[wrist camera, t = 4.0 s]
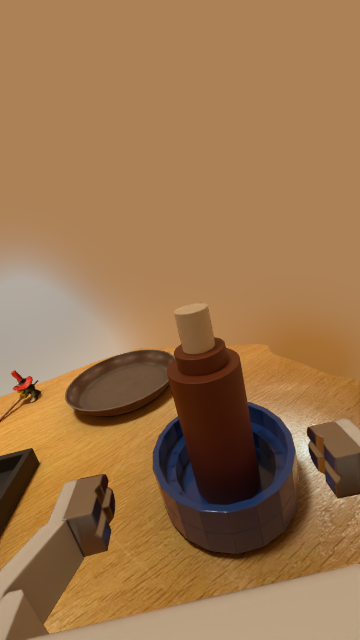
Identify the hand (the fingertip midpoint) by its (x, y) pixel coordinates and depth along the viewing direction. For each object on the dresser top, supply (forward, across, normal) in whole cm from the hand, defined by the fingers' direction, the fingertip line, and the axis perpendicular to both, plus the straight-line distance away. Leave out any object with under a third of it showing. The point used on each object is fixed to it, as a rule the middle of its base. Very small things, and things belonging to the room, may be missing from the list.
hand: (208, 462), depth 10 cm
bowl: (+12, -1, +15) cm, 20 cm away
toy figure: (+39, +35, +16) cm, 54 cm away
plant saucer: (+36, +13, +16) cm, 41 cm away
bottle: (+12, -1, +15) cm, 19 cm away
